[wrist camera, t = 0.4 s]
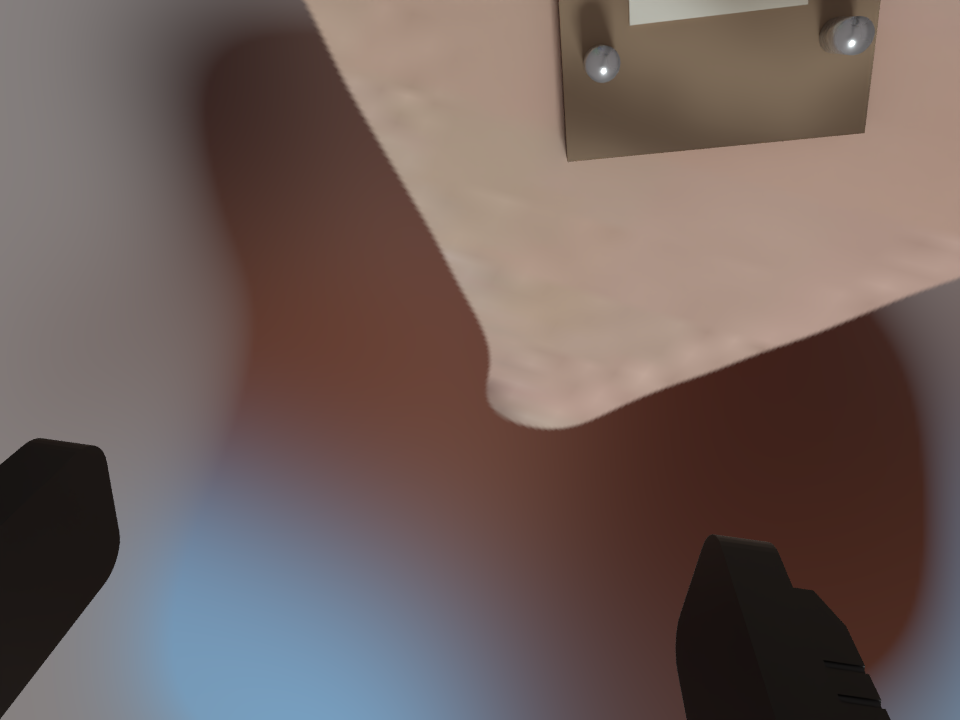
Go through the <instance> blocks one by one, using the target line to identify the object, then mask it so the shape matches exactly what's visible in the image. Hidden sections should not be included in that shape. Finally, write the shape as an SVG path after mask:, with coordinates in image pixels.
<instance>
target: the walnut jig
mask: <svg viewBox="0 0 960 720" xmlns="http://www.w3.org/2000/svg"><path fill="white" fill-rule="evenodd" d="M880 1H881V0H558V5H559V23H560V41H561V60H562V78H563V96H564V115H565V133H566V151H567V161H568V162H571V161H582V160H592V159H602V158H613V157H623V156H633V155H643V154H654V153H664V152H674V151H685V150H695V149H705V148H715V147H726V146H736V145H746V144H757V143H767V142H777V141H787V140H798V139H808V138H818V137H828V136H839V135H849V134H859V133H865V125H866V117H867V108H868V100H869V92H870V84H871V75H872V67H873V59H874V50H875V42H876V34H877V26H878V17H879V9H880Z"/></svg>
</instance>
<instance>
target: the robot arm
mask: <svg viewBox="0 0 960 720" xmlns="http://www.w3.org/2000/svg"><path fill="white" fill-rule="evenodd" d="M119 544H120V535H119V528H118V522H117V517H116V511H115V505H114V500H113V494H112V489H111V483H110V478H109V472H108V466H107V461H106V457H105V455H104V453H103V451H102V450H101V449H100V448H98V447H96V446H93V445H85V444H79V443H72V442H65V441H57V440H50V439H43V438H37V439H33V440H31V441H29V442H28V443H26V444H25V445H23V446H22V447H21V448H20V449H18V451H16V452H15V453H14V454H13V455H11V456H10V457H9V458H8V459H6V460H5V461H4V462H3V463H2V464H1V465H0V719H1V717H2V716H3V715H4V713H5V712H6V711H7V709H8V708H9V707H10V706H11V704H12V703H13V702H14V700H15V699H16V698H17V696H18V695H19V694H20V693H21V691H22V690H23V689H24V687H25V686H26V685H27V684H28V682H29V681H30V680H31V678H32V677H33V676H34V674H35V673H36V672H37V671H38V669H39V668H40V667H41V665H42V664H43V663H44V661H45V660H46V659H47V658H48V656H49V655H50V654H51V652H52V651H53V650H54V649H55V647H56V646H57V645H58V643H59V642H60V641H61V639H62V638H63V637H64V636H65V634H66V633H67V632H68V630H69V629H70V628H71V627H72V625H73V624H74V623H75V621H76V620H77V619H78V617H79V616H80V615H81V614H82V612H83V611H84V609H85V608H86V607H87V605H89V603H90V602H91V601H92V599H93V598H94V597H95V595H96V594H97V593H98V592H99V590H100V589H101V588H102V586H103V585H104V584H105V582H106V581H107V579H108V578H109V576H110V574H111V572H112V569H113V568H114V565H115V562H116V559H117V556H118V551H119ZM676 664H677V671H678V676H679V682H680V687H681V692H682V697H683V703H684V707H685V713H686V718H687V720H890V718H889V715H888V713H887V711H886V709H882V708H881V699H880V697H879V694H878V692H877V690H876V688H875V686H874V684H873V682H872V680H871V678H870V676H869V674H865V671H864V668H865V665H864V663H863V661H862V659H861V657H860V655H859V653H858V651H857V648H856V646H855V644H854V642H853V640H852V638H851V636H850V633H849V631H848V629H847V627H846V626H845V625H844V623H842V621H840V619H839V618H838V617H837V616H836V615H835V614H834V613H833V612H832V610H831V609H830V608H829V607H828V606H827V605H826V604H825V603H824V602H823V601H822V599H821V598H820V597H819V596H818V595H817V594H816V593H815V592H814V591H813V590H806V589H799V588H793V587H792V584H791V582H790V579H789V577H788V575H787V572H786V570H785V567H784V565H783V562H782V561H781V558H780V555H779V553H778V551H777V549H776V548H775V547H774V545H773V544H772V543H769V542H763V541H756V540H749V539H741V538H734V537H727V536H720V535H713V534H712V535H710V536H708V537H707V539H706V540H705V542H704V545H703V547H702V550H701V553H700V556H699V559H698V562H697V565H696V568H695V571H694V574H693V577H692V581H691V583H690V586H689V590H688V593H687V595H686V598H685V602H684V605H683V608H682V611H681V614H680V617H679V621H678V626H677V633H676Z"/></svg>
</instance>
